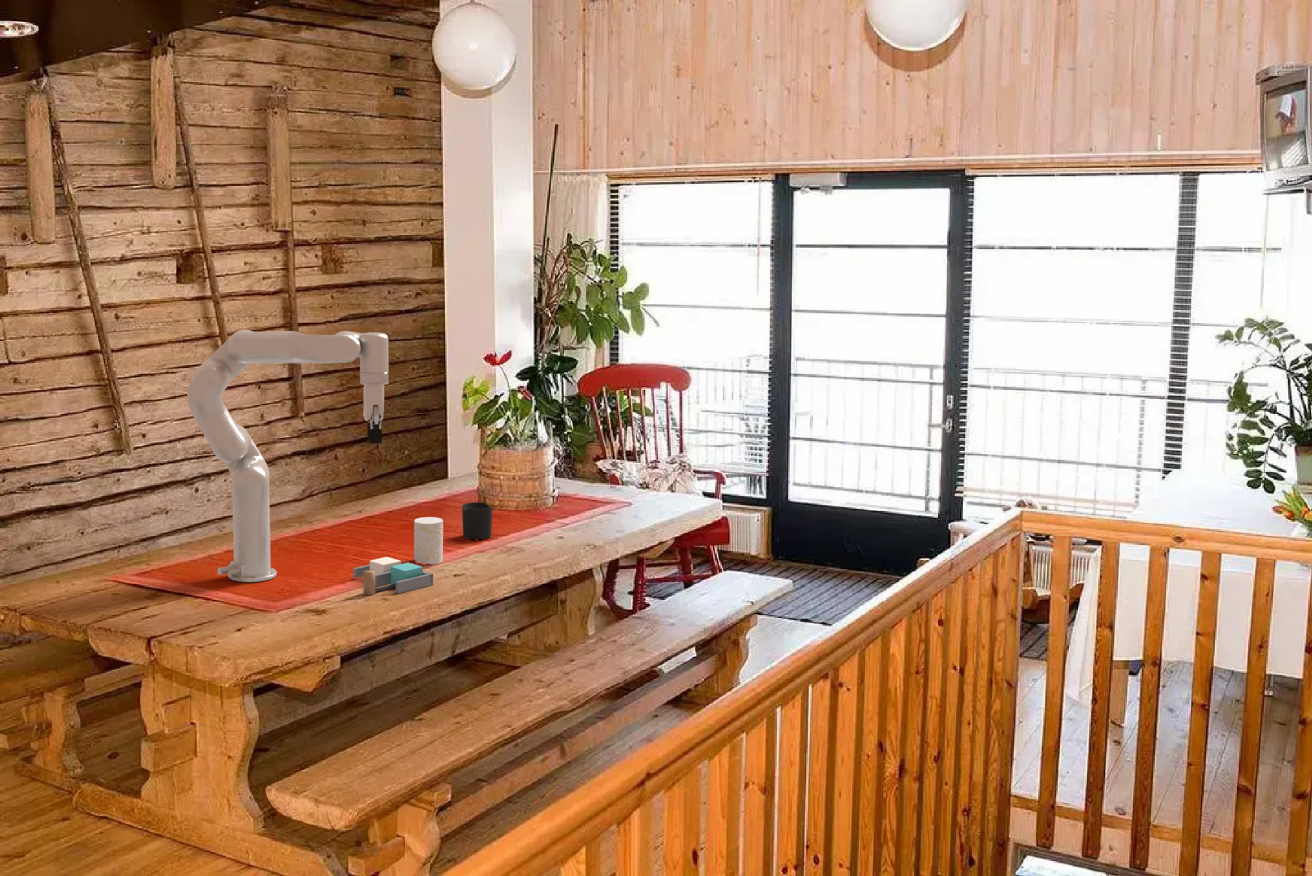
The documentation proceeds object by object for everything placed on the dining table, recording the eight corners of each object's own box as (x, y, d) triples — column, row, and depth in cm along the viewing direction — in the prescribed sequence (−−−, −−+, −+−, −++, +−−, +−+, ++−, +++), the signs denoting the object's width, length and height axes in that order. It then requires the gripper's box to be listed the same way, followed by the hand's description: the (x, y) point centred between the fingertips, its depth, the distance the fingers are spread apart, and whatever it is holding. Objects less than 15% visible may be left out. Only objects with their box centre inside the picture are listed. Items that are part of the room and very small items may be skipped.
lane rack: (398, 593, 343) (398, 582, 343) (353, 578, 355) (353, 568, 355) (433, 584, 353) (433, 574, 352) (388, 570, 364) (388, 560, 364)
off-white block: (383, 582, 353) (383, 564, 352) (369, 578, 357) (369, 560, 356) (401, 578, 358) (401, 560, 357) (387, 574, 362) (387, 556, 361)
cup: (419, 565, 371) (419, 524, 369) (410, 558, 378) (410, 518, 376) (446, 563, 374) (446, 522, 372) (437, 556, 382) (437, 516, 379)
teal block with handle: (371, 597, 339) (371, 575, 338) (357, 592, 343) (357, 570, 342) (422, 584, 352) (422, 563, 351) (408, 580, 356) (408, 559, 355)
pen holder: (496, 534, 409) (496, 503, 407) (487, 541, 400) (487, 510, 398) (467, 532, 410) (467, 501, 409) (457, 539, 401) (458, 507, 400)
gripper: (358, 374, 361) (358, 434, 364) (362, 382, 345) (362, 446, 348) (386, 374, 363) (386, 434, 366) (390, 382, 347) (390, 445, 350)
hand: (374, 440), depth 357 cm, fingers open, 9 cm apart
